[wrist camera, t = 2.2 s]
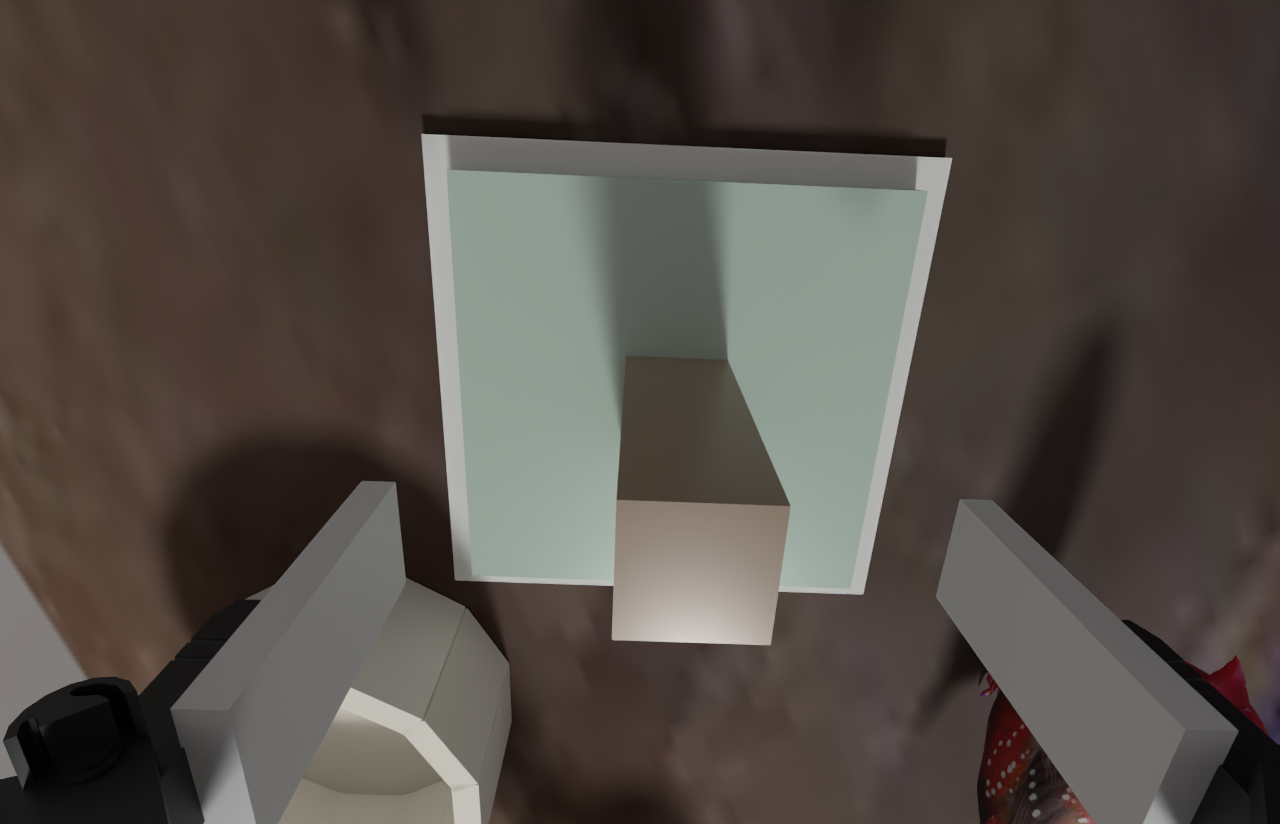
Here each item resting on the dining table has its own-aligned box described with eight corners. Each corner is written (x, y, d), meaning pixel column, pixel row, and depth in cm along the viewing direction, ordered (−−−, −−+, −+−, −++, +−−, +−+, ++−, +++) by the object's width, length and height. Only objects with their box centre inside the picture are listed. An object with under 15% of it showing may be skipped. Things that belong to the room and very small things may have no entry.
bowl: (505, 574, 27) (471, 682, 22) (514, 794, 32) (488, 929, 27) (194, 563, 27) (78, 669, 22) (249, 786, 32) (167, 920, 26)
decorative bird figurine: (1106, 526, 27) (1357, 726, 17) (933, 820, 33) (1050, 1083, 24) (1041, 512, 26) (1261, 707, 17) (880, 811, 33) (976, 1072, 23)
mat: (945, 158, 21) (952, 157, 21) (859, 587, 28) (863, 594, 27) (426, 134, 21) (421, 133, 21) (458, 573, 27) (454, 580, 27)
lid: (915, 189, 21) (1171, 222, 11) (843, 573, 27) (969, 832, 17) (454, 168, 21) (280, 182, 11) (478, 560, 27) (376, 815, 16)
